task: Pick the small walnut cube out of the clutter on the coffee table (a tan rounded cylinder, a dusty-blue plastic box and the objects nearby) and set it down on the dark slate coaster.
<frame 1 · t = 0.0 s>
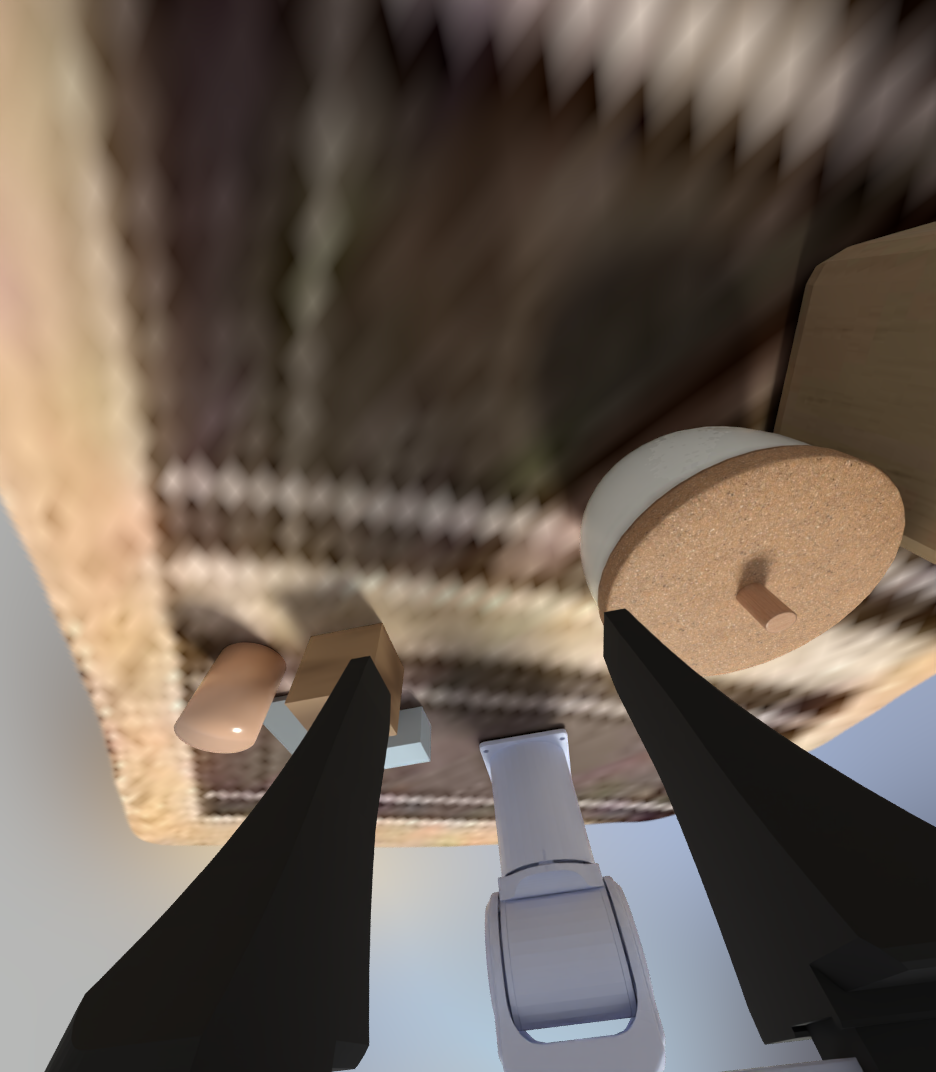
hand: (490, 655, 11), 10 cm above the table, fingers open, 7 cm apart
lidded jar: (647, 497, 20), on the table
wooden block: (879, 355, 17), on the table
walnut block: (360, 652, 26), on the table
slate coaster: (320, 721, 30), on the table
tan rounded cylinder: (253, 663, 25), on the table
blue plastic box: (403, 718, 30), on the table
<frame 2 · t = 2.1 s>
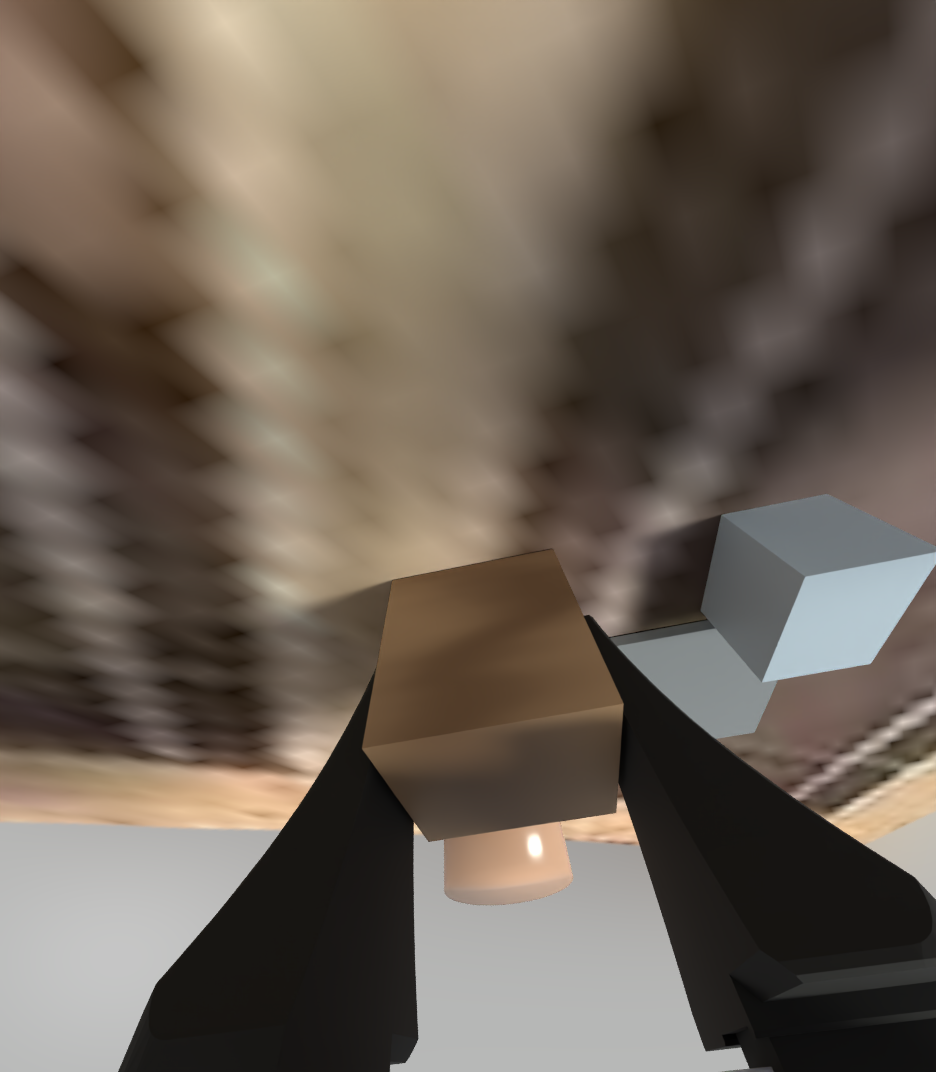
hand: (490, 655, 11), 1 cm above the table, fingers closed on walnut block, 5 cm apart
walnut block: (485, 621, 12), on the table, touching gripper
slate coaster: (672, 689, 15), on the table
tan rounded cylinder: (491, 737, 16), on the table
blue plastic box: (754, 556, 12), on the table
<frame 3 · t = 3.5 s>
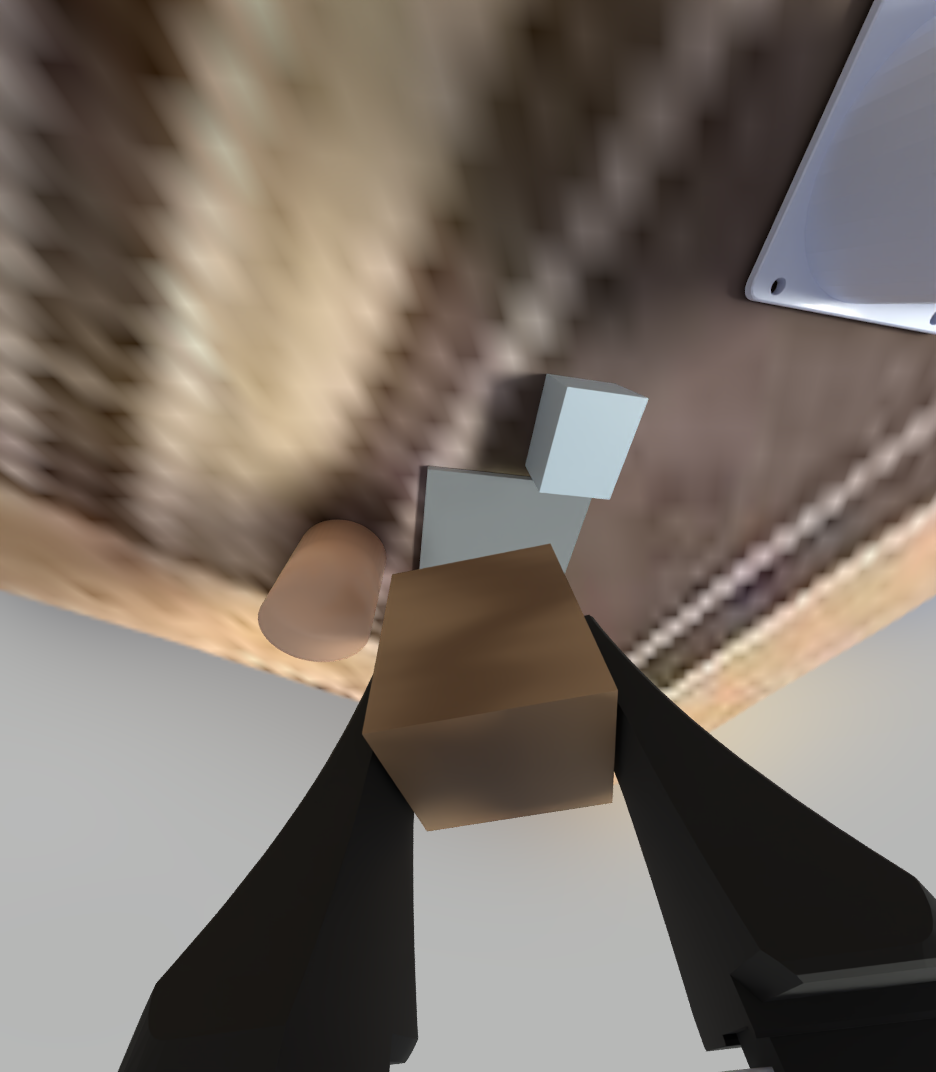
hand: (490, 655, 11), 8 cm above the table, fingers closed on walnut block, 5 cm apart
walnut block: (484, 615, 12), point 7 cm above the table, touching gripper
slate coaster: (497, 544, 19), on the table
tan rounded cylinder: (343, 555, 19), on the table
blue plastic box: (566, 426, 16), on the table
when the fingers open (3 cm above the table, at t = 5.2 s): walnut block stays where it is, resting on slate coaster.
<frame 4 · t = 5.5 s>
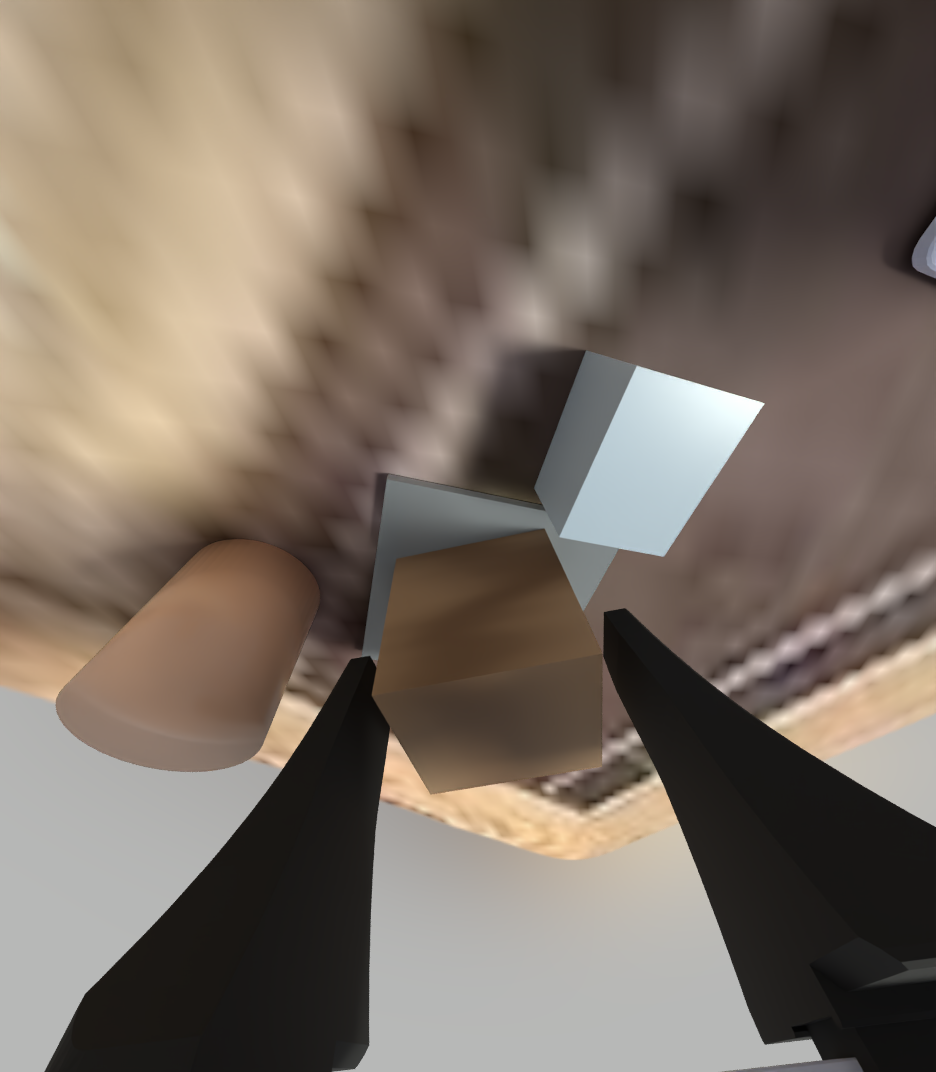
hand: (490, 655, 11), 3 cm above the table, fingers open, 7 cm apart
walnut block: (482, 598, 13), resting on slate coaster
slate coaster: (481, 592, 14), on the table
tan rounded cylinder: (256, 589, 13), on the table
blue plastic box: (602, 436, 11), on the table
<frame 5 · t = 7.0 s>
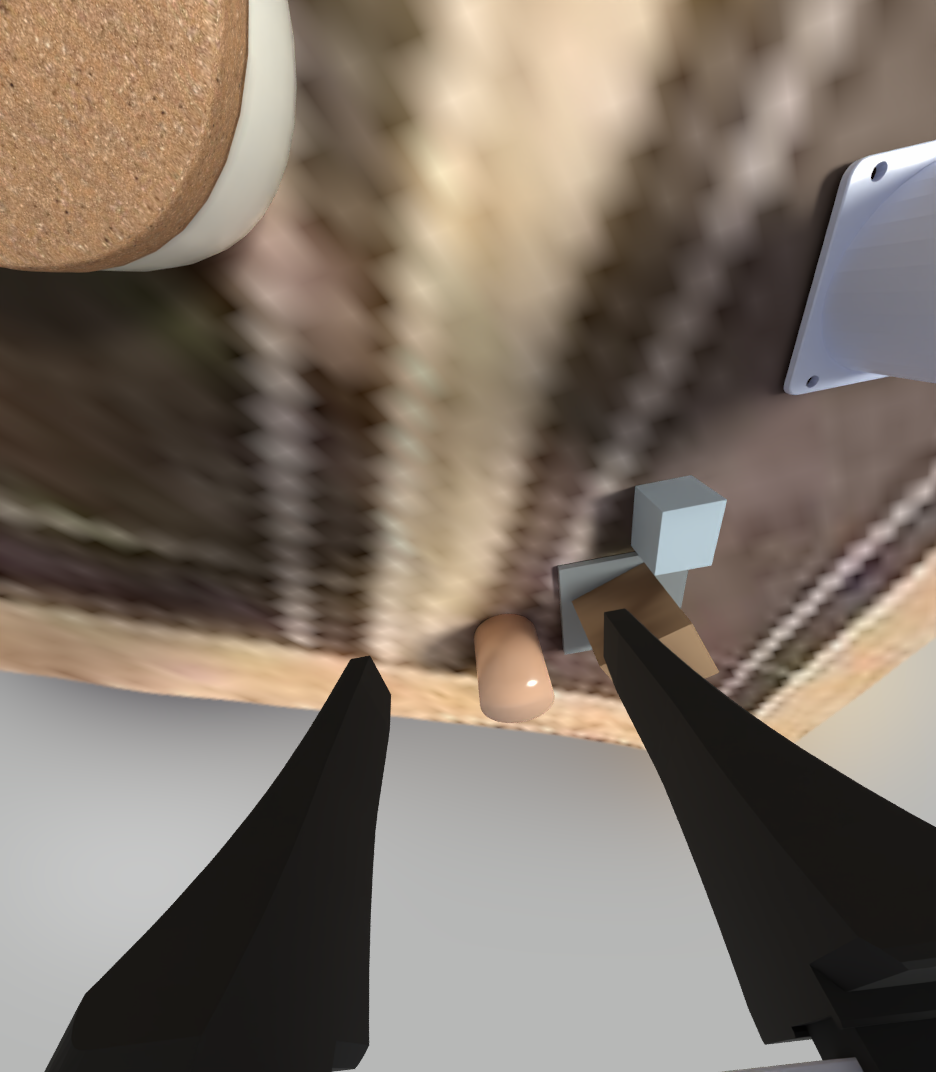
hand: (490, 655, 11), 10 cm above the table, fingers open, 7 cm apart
lidded jar: (164, 75, 11), on the table
walnut block: (622, 604, 24), resting on slate coaster
slate coaster: (619, 601, 24), on the table
tan rounded cylinder: (504, 636, 25), on the table
blue plastic box: (658, 511, 21), on the table
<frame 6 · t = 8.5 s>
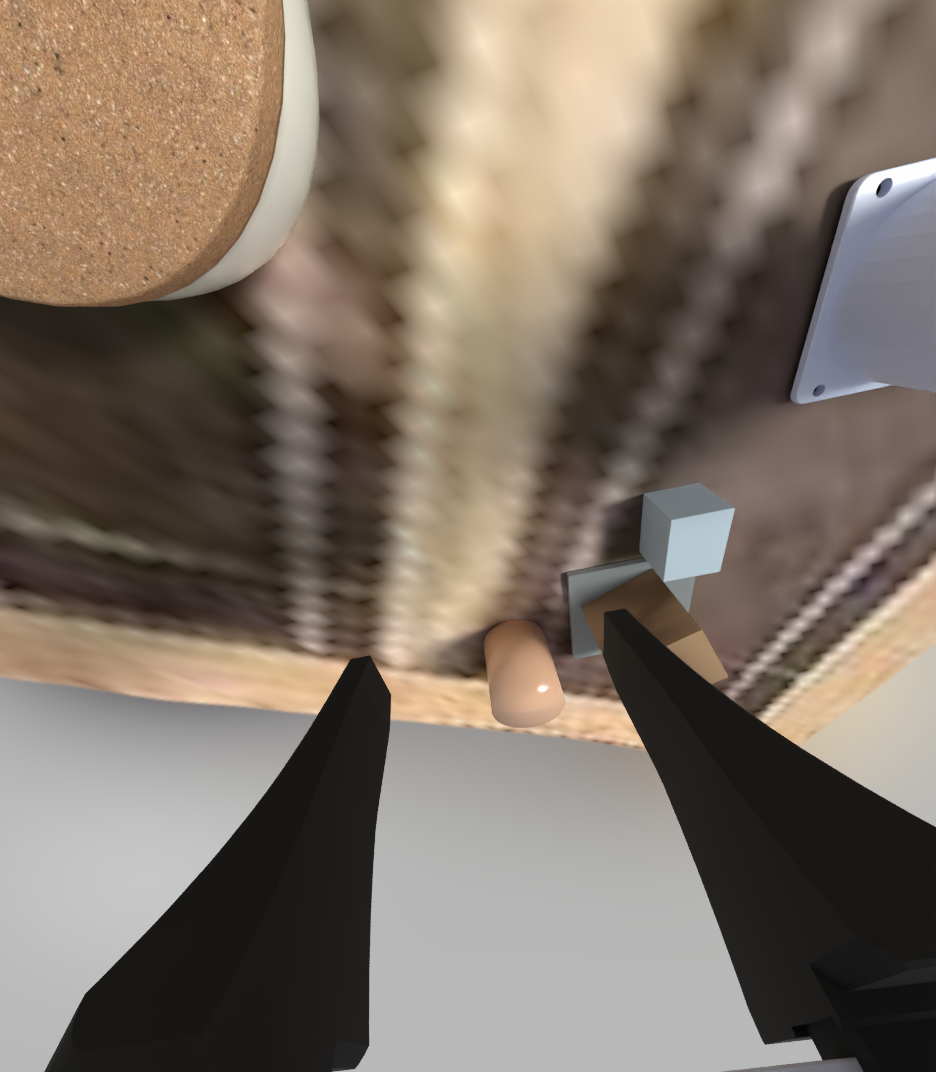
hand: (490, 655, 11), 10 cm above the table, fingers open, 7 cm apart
lidded jar: (187, 106, 11), on the table
walnut block: (630, 609, 24), resting on slate coaster
slate coaster: (627, 606, 24), on the table
tan rounded cylinder: (514, 641, 26), on the table
blue plastic box: (666, 517, 21), on the table
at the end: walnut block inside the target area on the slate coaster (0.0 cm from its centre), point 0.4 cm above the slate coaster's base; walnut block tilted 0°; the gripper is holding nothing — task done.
